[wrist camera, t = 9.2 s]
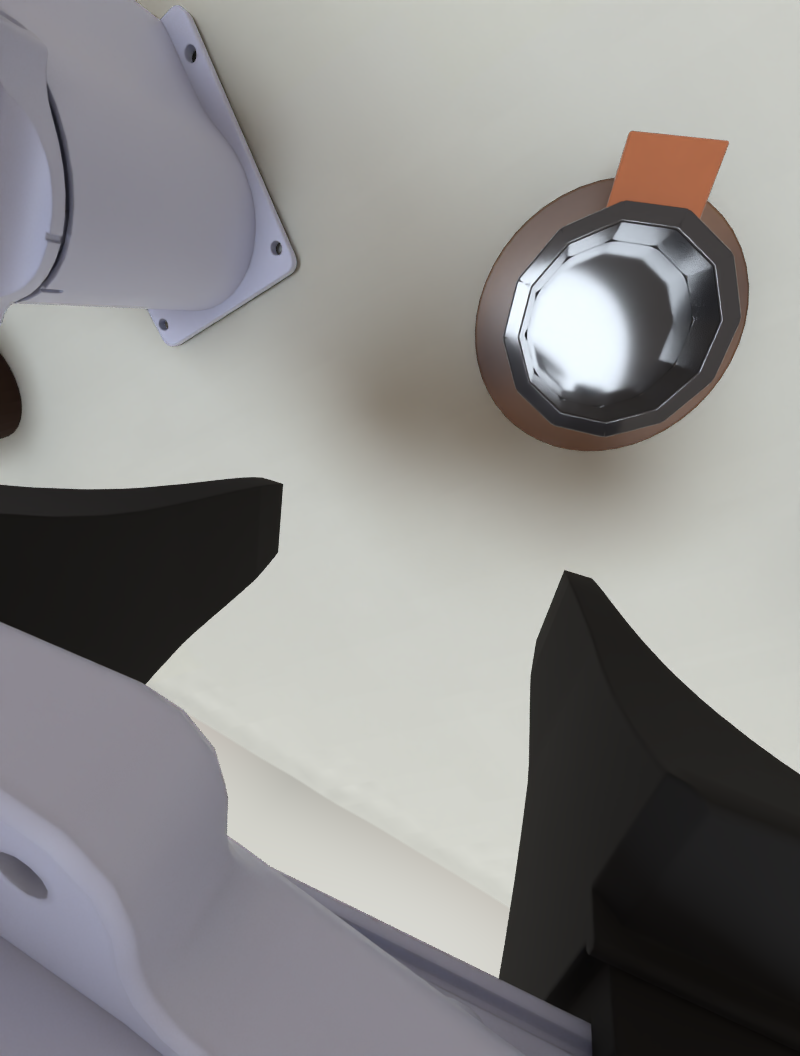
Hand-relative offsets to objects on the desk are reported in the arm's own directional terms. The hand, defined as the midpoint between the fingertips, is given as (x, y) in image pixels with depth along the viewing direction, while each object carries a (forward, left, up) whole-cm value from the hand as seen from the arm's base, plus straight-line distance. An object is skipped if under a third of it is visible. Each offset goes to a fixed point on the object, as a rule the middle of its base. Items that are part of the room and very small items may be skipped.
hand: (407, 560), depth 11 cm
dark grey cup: (-3, +6, -10) cm, 12 cm away
